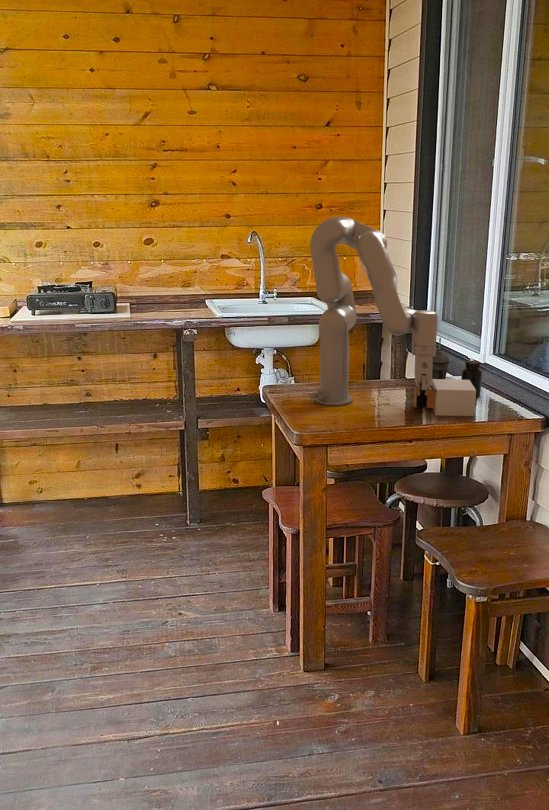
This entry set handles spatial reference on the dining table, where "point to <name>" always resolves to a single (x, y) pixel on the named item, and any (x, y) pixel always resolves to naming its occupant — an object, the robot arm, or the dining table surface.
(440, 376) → the beverage cup
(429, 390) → the orange rectangular block
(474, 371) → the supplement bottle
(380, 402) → the dining table surface
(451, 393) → the beige rectangular block
